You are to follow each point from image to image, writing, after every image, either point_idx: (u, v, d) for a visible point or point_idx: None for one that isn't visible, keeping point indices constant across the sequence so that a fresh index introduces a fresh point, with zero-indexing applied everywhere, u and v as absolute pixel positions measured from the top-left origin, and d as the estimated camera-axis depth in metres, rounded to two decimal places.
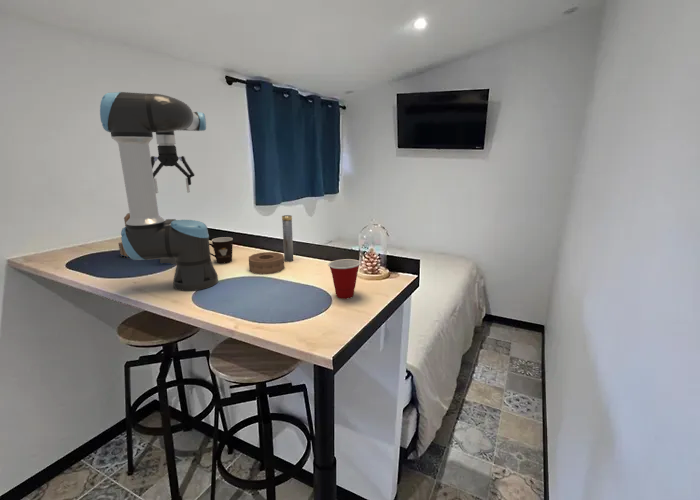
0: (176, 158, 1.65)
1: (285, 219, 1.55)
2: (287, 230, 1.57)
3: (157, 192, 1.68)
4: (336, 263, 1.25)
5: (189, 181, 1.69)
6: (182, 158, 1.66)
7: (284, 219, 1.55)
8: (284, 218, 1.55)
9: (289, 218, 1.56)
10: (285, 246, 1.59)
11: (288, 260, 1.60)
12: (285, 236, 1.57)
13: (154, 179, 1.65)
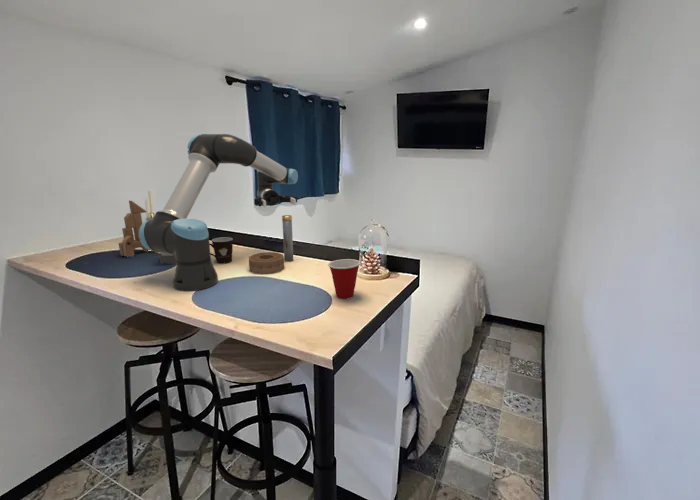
0: None
1: (285, 219, 1.55)
2: (287, 230, 1.57)
3: None
4: (336, 263, 1.25)
5: None
6: (284, 195, 1.80)
7: (284, 219, 1.55)
8: (284, 218, 1.55)
9: (289, 218, 1.56)
10: (285, 246, 1.59)
11: (288, 260, 1.60)
12: (285, 236, 1.57)
13: (262, 199, 1.67)
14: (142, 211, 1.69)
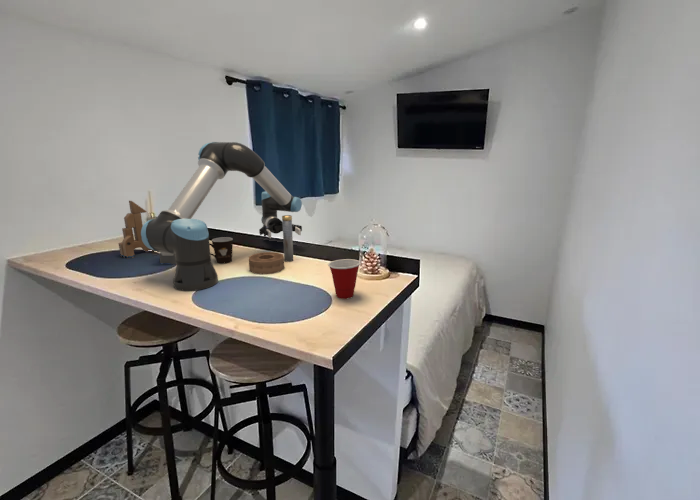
0: None
1: (285, 219, 1.55)
2: (287, 230, 1.57)
3: None
4: (336, 263, 1.25)
5: (298, 228, 1.72)
6: None
7: (284, 219, 1.55)
8: (284, 218, 1.55)
9: (289, 218, 1.56)
10: (285, 246, 1.59)
11: (288, 260, 1.60)
12: (285, 236, 1.57)
13: (267, 229, 1.67)
14: (142, 211, 1.69)
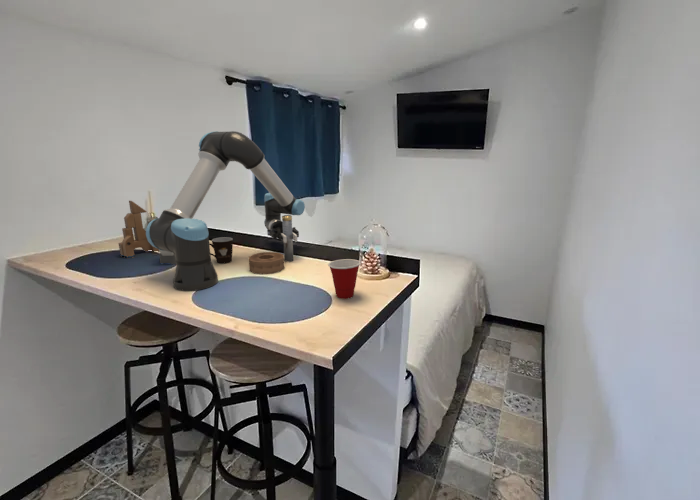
0: None
1: (285, 219, 1.55)
2: (287, 230, 1.57)
3: None
4: (336, 263, 1.25)
5: (295, 234, 1.60)
6: (293, 227, 1.71)
7: (284, 219, 1.55)
8: (284, 218, 1.55)
9: (289, 218, 1.56)
10: (285, 246, 1.59)
11: (288, 260, 1.60)
12: None
13: (282, 233, 1.59)
14: (142, 211, 1.69)
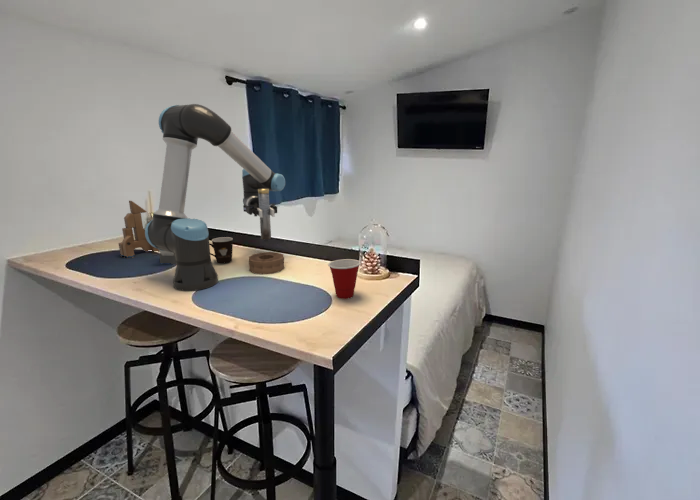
0: None
1: (261, 191, 1.41)
2: (263, 204, 1.43)
3: None
4: (336, 263, 1.25)
5: None
6: (272, 204, 1.57)
7: (260, 192, 1.42)
8: (260, 191, 1.41)
9: (265, 191, 1.42)
10: (261, 222, 1.45)
11: (265, 238, 1.46)
12: None
13: (258, 208, 1.45)
14: (142, 211, 1.69)
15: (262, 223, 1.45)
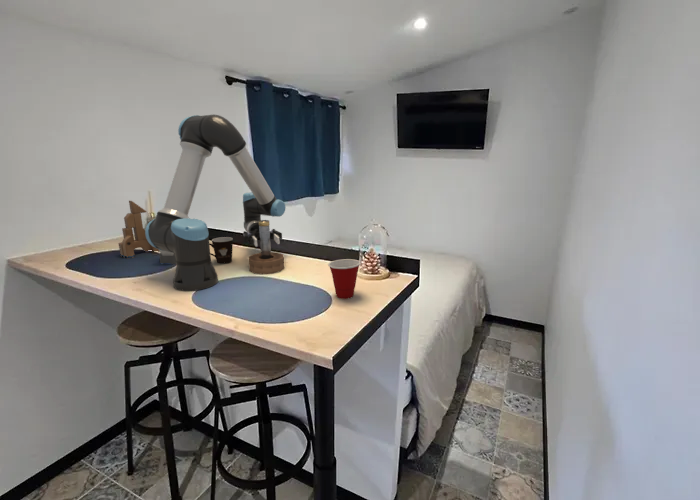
0: None
1: (262, 224, 1.44)
2: (264, 236, 1.46)
3: None
4: (336, 263, 1.25)
5: (278, 236, 1.50)
6: (273, 229, 1.60)
7: (261, 224, 1.44)
8: (261, 223, 1.44)
9: (266, 223, 1.45)
10: (262, 253, 1.48)
11: None
12: (262, 243, 1.47)
13: (253, 236, 1.47)
14: (142, 211, 1.69)
15: (263, 254, 1.48)
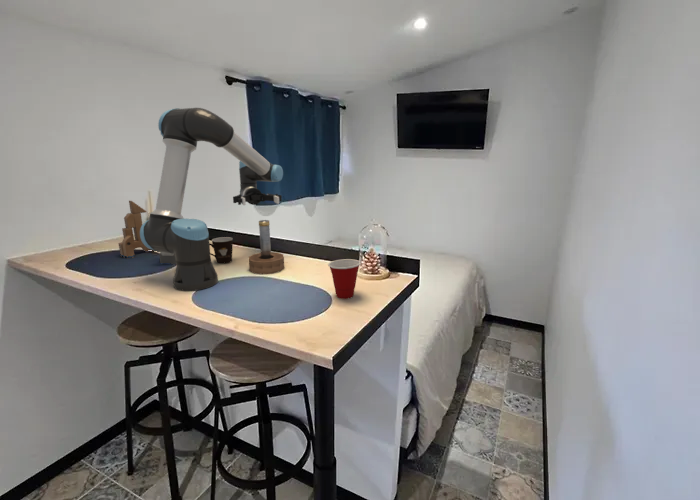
0: None
1: (262, 224, 1.44)
2: (264, 236, 1.46)
3: None
4: (336, 263, 1.25)
5: None
6: (268, 193, 1.63)
7: (261, 224, 1.44)
8: (261, 223, 1.44)
9: (266, 223, 1.45)
10: (262, 253, 1.48)
11: None
12: (262, 243, 1.47)
13: None
14: (142, 211, 1.69)
15: (263, 254, 1.48)
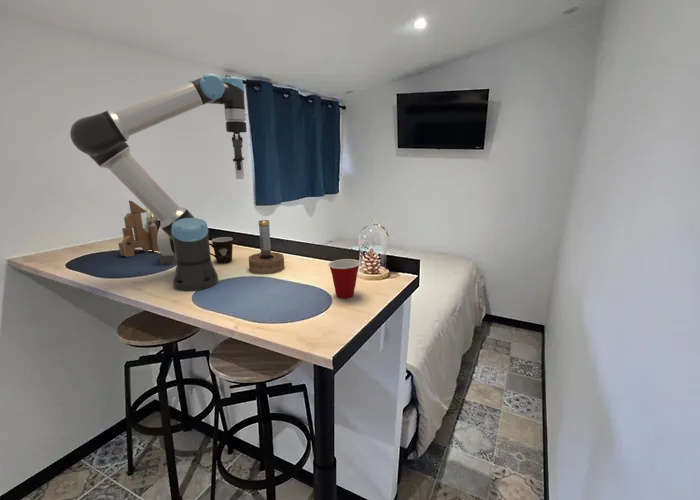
0: None
1: (261, 224, 1.44)
2: (264, 236, 1.46)
3: None
4: (336, 263, 1.25)
5: (237, 165, 1.37)
6: (233, 137, 1.36)
7: (261, 224, 1.44)
8: (261, 223, 1.44)
9: (266, 223, 1.45)
10: (262, 253, 1.48)
11: None
12: (262, 243, 1.47)
13: (236, 161, 1.50)
14: (142, 211, 1.69)
15: (263, 254, 1.48)
